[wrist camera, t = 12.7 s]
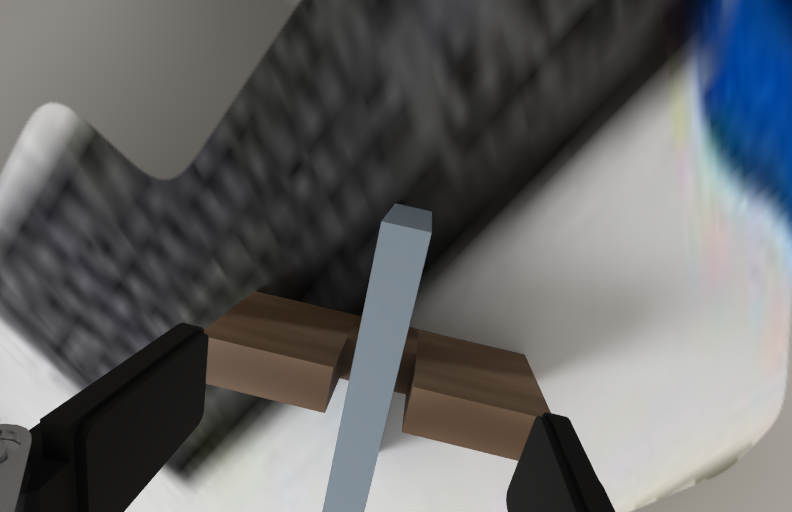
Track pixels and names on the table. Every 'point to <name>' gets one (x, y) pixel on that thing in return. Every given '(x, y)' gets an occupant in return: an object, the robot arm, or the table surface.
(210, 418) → the table surface
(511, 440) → the slotted board
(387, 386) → the plain gray rectangular bar
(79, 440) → the robot arm
